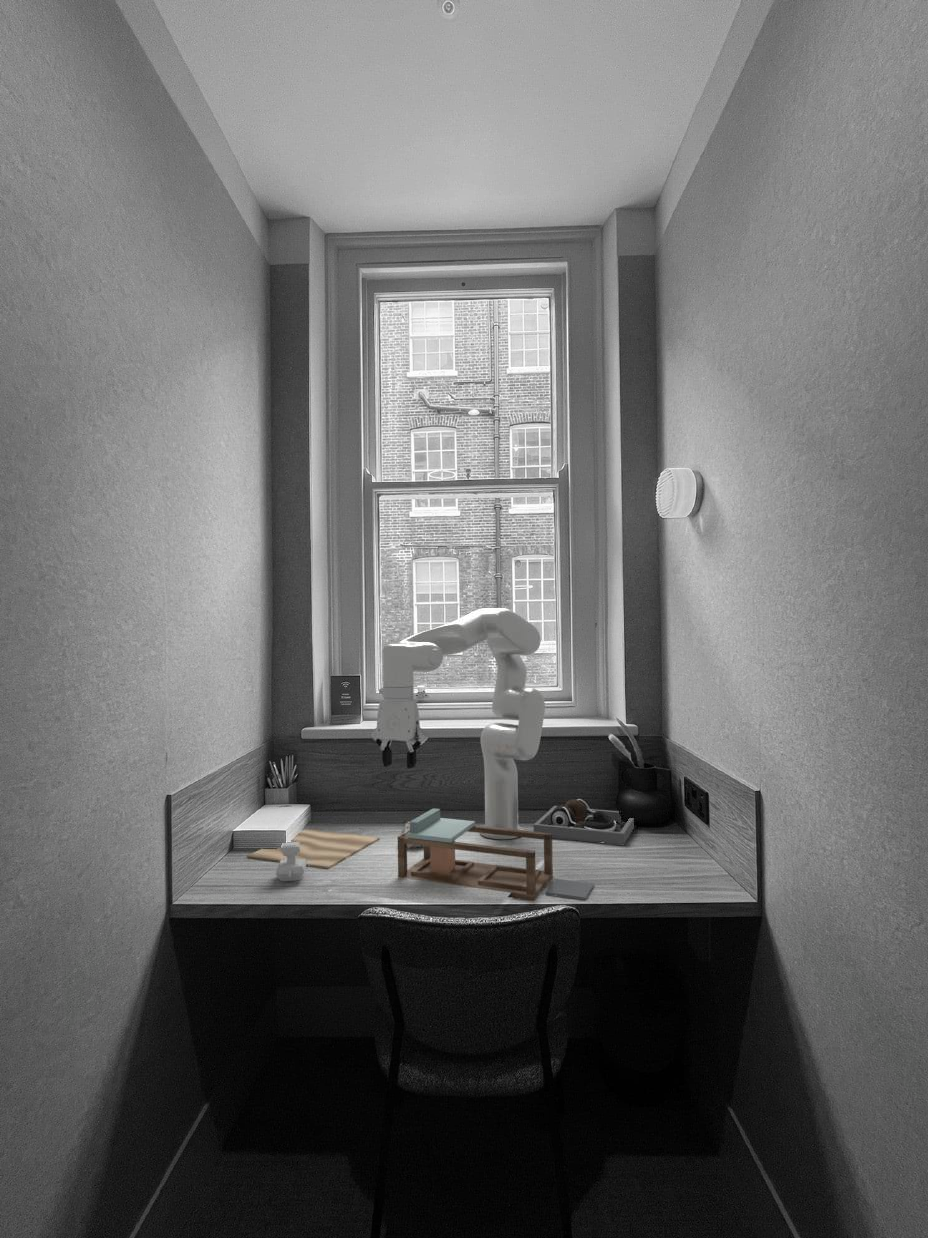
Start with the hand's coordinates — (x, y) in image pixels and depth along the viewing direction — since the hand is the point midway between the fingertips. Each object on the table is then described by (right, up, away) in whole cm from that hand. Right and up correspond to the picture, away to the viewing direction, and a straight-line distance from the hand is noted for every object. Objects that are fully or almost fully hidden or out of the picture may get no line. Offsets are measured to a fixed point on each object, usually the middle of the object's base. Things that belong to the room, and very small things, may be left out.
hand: (399, 766), depth 179 cm
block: (+11, -24, -4) cm, 27 cm away
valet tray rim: (+52, -25, +32) cm, 66 cm away
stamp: (-25, -26, -6) cm, 37 cm away
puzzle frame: (+18, -25, -7) cm, 32 cm away
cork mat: (-24, -26, +18) cm, 40 cm away
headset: (+52, -26, +32) cm, 66 cm away
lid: (+11, -15, -4) cm, 19 cm away
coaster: (+40, -25, -15) cm, 50 cm away
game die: (+3, -26, +15) cm, 30 cm away
